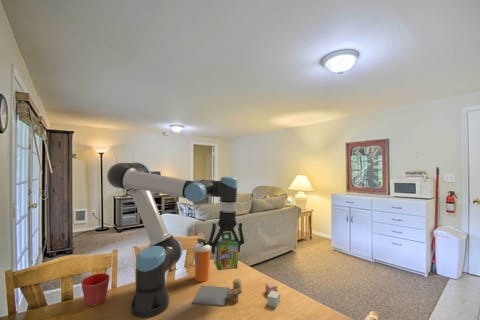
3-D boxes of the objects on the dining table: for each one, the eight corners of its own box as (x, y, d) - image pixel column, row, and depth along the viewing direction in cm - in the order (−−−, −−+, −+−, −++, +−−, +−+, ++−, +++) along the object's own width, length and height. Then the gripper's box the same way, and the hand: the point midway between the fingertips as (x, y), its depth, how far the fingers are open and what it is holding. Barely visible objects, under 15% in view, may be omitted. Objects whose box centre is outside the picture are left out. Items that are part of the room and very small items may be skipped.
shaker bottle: (202, 273, 131) (202, 236, 131) (214, 277, 125) (214, 239, 126) (189, 279, 123) (190, 241, 123) (202, 284, 118) (202, 244, 118)
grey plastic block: (267, 305, 102) (267, 295, 102) (271, 299, 106) (271, 290, 106) (276, 307, 100) (276, 298, 100) (280, 301, 104) (280, 292, 104)
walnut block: (228, 303, 103) (229, 294, 103) (228, 298, 107) (228, 289, 107) (238, 302, 103) (238, 293, 103) (236, 297, 107) (236, 288, 107)
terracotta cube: (269, 296, 108) (269, 287, 108) (265, 291, 112) (265, 283, 112) (277, 294, 110) (277, 285, 110) (272, 290, 114) (272, 281, 114)
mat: (192, 303, 102) (192, 302, 102) (201, 286, 116) (201, 285, 116) (224, 306, 101) (224, 304, 101) (229, 288, 114) (229, 287, 114)
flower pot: (75, 309, 98) (75, 286, 98) (88, 295, 108) (88, 273, 108) (103, 307, 99) (103, 284, 99) (113, 293, 110) (113, 272, 110)
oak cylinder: (232, 293, 110) (232, 282, 110) (233, 289, 114) (233, 278, 114) (240, 294, 110) (241, 283, 110) (241, 289, 114) (242, 279, 114)
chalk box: (218, 271, 102) (219, 236, 102) (213, 262, 111) (214, 230, 111) (238, 268, 105) (239, 235, 105) (232, 260, 114) (233, 229, 114)
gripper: (204, 212, 102) (202, 265, 102) (253, 212, 108) (250, 261, 108) (202, 209, 109) (200, 258, 109) (248, 208, 115) (246, 255, 115)
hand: (225, 259), depth 108 cm, fingers closed on chalk box, 9 cm apart
